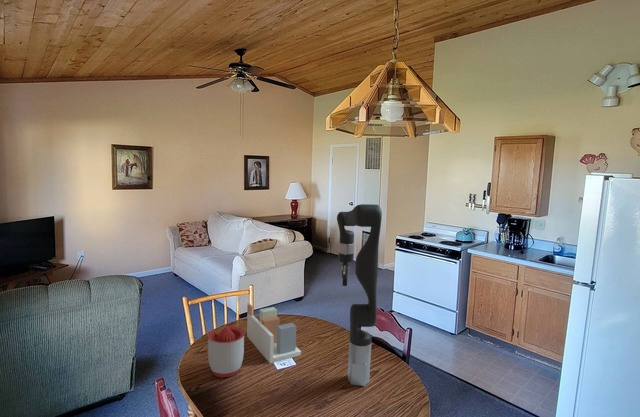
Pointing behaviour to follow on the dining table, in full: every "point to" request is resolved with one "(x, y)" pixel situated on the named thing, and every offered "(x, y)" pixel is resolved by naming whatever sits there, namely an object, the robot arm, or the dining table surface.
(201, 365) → the dining table surface
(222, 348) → the citrus juicer
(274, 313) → the sage block
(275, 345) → the rack
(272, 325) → the terracotta block
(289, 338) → the slate block
